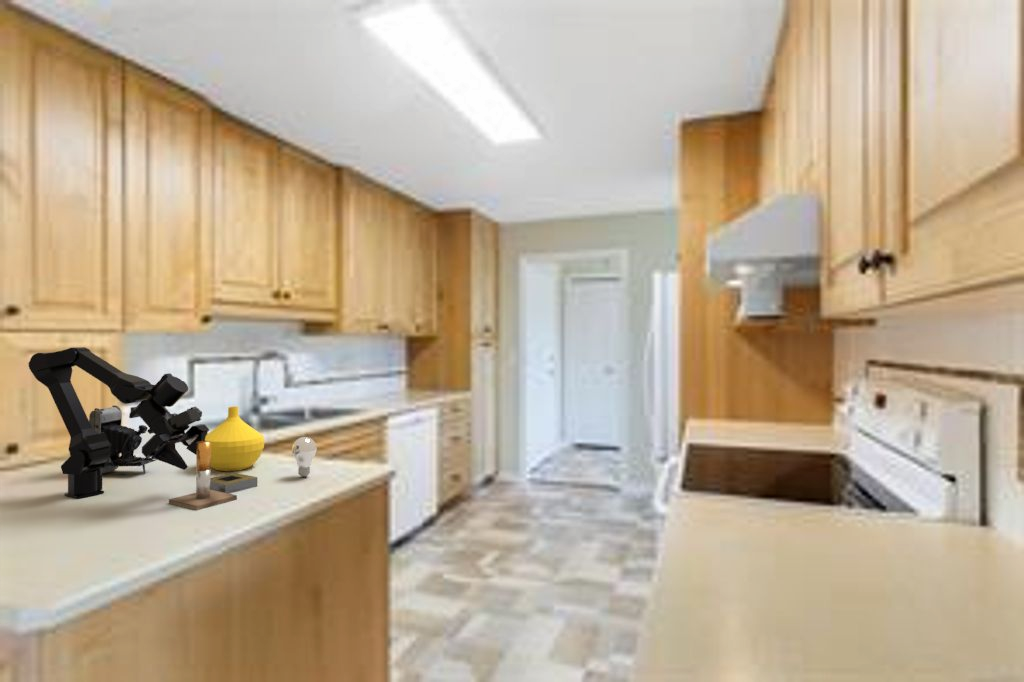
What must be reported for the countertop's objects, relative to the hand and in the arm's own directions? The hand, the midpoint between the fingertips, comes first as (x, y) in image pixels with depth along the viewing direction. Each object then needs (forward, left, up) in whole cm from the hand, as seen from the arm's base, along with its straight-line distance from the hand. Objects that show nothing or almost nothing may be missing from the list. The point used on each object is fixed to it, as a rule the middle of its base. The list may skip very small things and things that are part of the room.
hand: (198, 464), depth 152 cm
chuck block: (+12, +5, -9) cm, 16 cm away
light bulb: (+31, -3, -9) cm, 33 cm away
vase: (+28, +25, -9) cm, 39 cm away
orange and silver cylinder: (0, -1, -8) cm, 8 cm away
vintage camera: (+6, +45, -9) cm, 46 cm away
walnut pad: (0, -1, -9) cm, 9 cm away
